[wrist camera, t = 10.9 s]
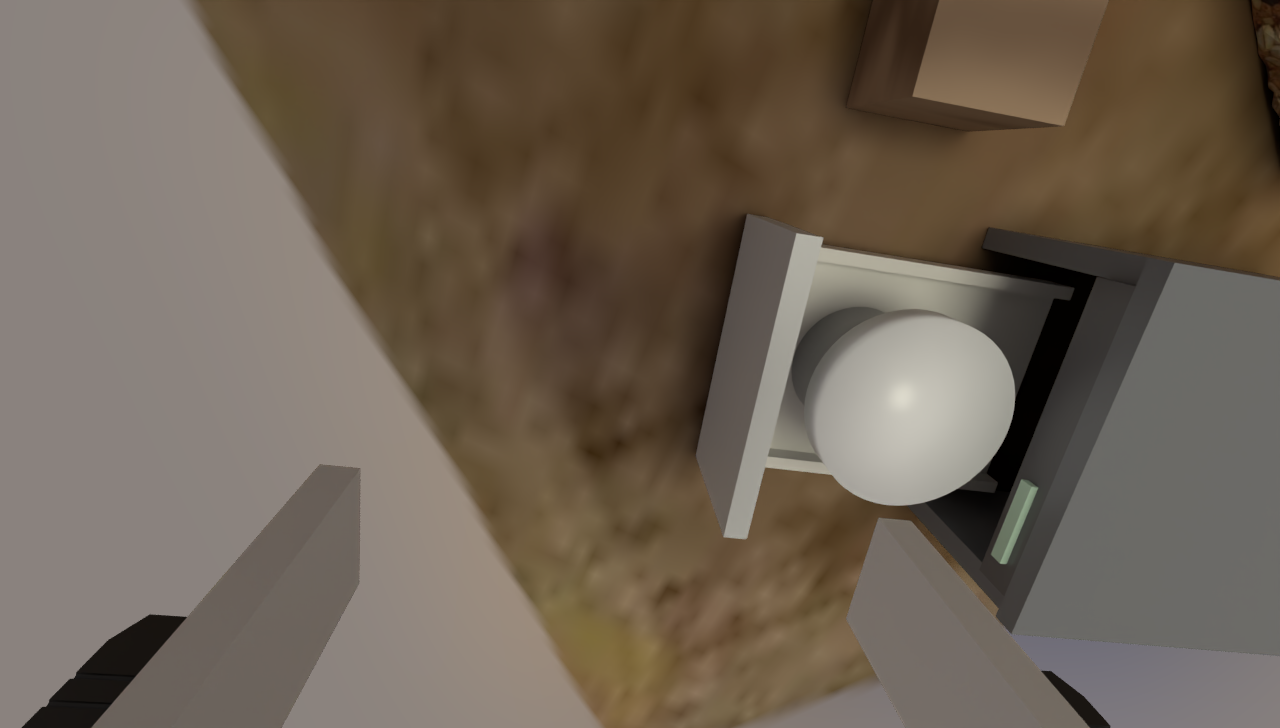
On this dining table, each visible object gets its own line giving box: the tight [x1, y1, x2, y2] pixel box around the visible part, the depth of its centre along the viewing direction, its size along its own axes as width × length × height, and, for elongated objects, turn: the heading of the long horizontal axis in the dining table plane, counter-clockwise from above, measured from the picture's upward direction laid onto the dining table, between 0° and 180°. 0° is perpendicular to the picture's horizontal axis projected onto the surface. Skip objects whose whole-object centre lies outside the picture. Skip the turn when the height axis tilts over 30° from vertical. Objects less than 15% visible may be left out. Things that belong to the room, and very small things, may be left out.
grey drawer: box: [696, 214, 1075, 539], centre depth 28 cm, size 13×16×7 cm
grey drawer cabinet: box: [907, 228, 1280, 656], centre depth 28 cm, size 15×16×10 cm
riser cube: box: [846, 0, 1109, 131], centre depth 24 cm, size 6×6×6 cm
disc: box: [804, 309, 1015, 506], centre depth 25 cm, size 8×8×2 cm
